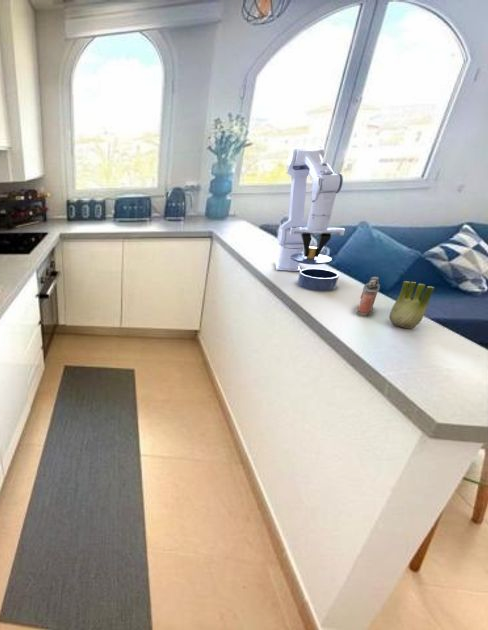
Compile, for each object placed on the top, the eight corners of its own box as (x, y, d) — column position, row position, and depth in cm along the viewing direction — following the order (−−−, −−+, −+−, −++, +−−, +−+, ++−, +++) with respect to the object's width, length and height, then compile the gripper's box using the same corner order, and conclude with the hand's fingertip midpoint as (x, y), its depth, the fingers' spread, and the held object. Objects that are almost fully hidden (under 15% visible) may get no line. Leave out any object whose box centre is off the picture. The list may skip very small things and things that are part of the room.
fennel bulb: (421, 330, 87) (439, 286, 82) (401, 331, 87) (417, 287, 82) (401, 320, 92) (417, 278, 87) (382, 321, 92) (397, 279, 87)
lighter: (359, 305, 102) (369, 273, 98) (374, 308, 100) (384, 275, 96) (354, 314, 97) (364, 281, 93) (369, 317, 95) (380, 283, 91)
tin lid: (288, 255, 123) (290, 242, 121) (327, 257, 118) (330, 243, 117) (291, 264, 114) (294, 251, 112) (334, 266, 109) (338, 252, 107)
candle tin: (295, 279, 125) (298, 267, 123) (332, 281, 121) (335, 269, 119) (299, 289, 116) (302, 277, 115) (338, 292, 112) (341, 279, 110)
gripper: (295, 216, 110) (286, 258, 115) (351, 216, 104) (339, 260, 109) (292, 213, 115) (285, 252, 121) (345, 212, 109) (335, 254, 115)
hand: (310, 255), depth 115 cm, fingers closed on tin lid, 2 cm apart
